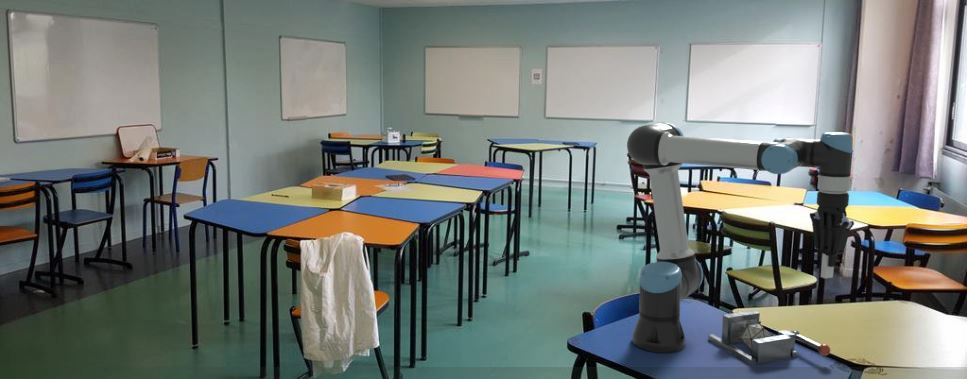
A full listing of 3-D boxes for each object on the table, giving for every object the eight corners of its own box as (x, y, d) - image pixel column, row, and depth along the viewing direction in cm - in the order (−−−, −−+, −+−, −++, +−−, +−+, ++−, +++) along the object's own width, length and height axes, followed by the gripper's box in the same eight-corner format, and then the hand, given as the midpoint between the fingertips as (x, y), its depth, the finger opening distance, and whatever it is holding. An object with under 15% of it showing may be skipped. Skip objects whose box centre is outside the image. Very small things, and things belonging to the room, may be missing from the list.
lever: (787, 329, 199) (824, 347, 187) (796, 328, 200) (833, 345, 188) (787, 339, 200) (823, 357, 187) (795, 338, 201) (832, 356, 188)
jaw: (721, 342, 205) (722, 314, 203) (752, 337, 208) (753, 310, 206) (727, 345, 202) (729, 318, 200) (759, 340, 205) (760, 313, 204)
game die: (761, 364, 198) (778, 346, 191) (732, 352, 199) (748, 334, 192) (762, 339, 205) (779, 321, 198) (735, 328, 205) (750, 309, 198)
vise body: (708, 339, 207) (709, 320, 206) (756, 331, 212) (757, 313, 211) (750, 364, 189) (752, 344, 188) (802, 355, 195) (803, 335, 194)
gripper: (864, 194, 177) (857, 282, 181) (825, 186, 189) (819, 269, 193) (841, 196, 175) (834, 285, 179) (803, 188, 187) (797, 272, 191)
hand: (826, 277), depth 186 cm, fingers closed
